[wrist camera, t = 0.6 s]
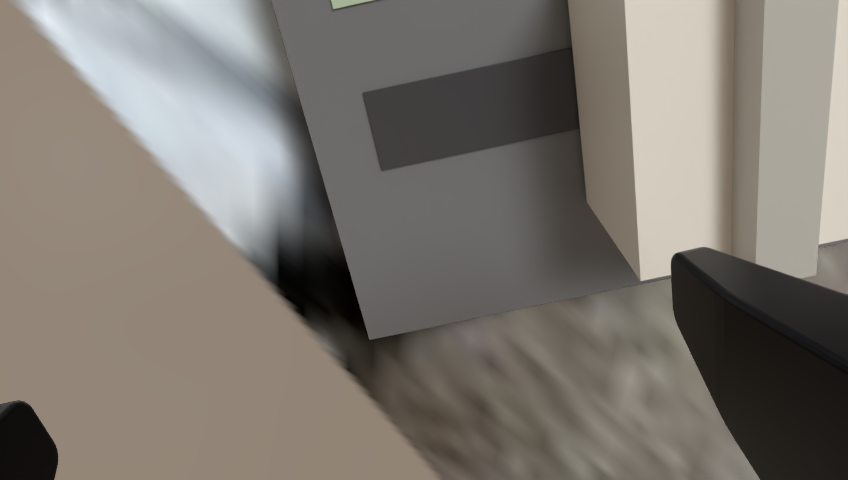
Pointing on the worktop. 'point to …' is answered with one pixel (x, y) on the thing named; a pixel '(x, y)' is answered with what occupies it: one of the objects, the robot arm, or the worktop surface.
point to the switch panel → (450, 155)
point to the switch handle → (714, 127)
